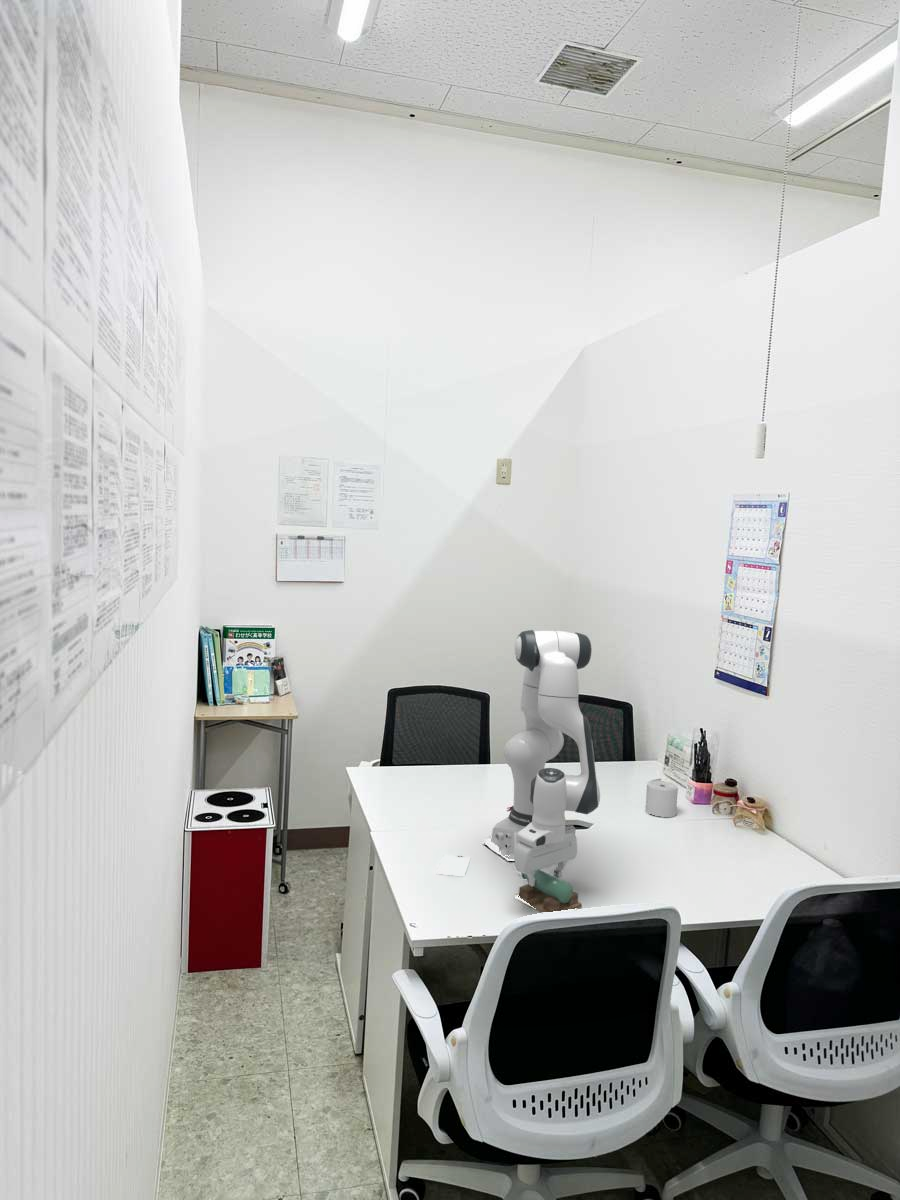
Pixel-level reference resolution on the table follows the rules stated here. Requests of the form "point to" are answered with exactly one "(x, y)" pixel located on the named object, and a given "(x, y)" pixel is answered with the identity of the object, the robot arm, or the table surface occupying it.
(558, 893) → the bottle
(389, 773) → the table surface
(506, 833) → the robot arm
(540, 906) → the cradle
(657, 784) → the toilet tissue
